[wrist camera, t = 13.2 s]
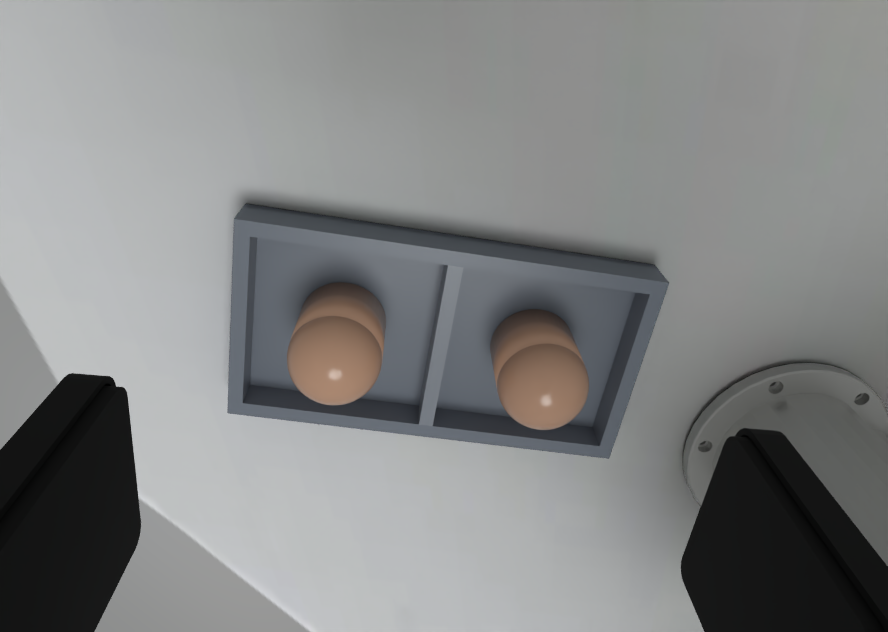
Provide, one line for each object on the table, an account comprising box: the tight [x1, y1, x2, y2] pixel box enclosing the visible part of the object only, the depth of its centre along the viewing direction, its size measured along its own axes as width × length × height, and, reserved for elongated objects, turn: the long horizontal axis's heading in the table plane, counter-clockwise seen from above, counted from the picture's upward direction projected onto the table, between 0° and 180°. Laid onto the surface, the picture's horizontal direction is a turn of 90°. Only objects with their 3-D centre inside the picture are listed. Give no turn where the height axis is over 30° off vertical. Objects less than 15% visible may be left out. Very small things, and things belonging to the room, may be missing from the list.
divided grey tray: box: [228, 204, 669, 459], centre depth 38 cm, size 22×12×2 cm, turn 80°
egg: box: [287, 282, 386, 405], centre depth 36 cm, size 5×5×6 cm
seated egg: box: [490, 309, 589, 430], centre depth 37 cm, size 5×5×6 cm
